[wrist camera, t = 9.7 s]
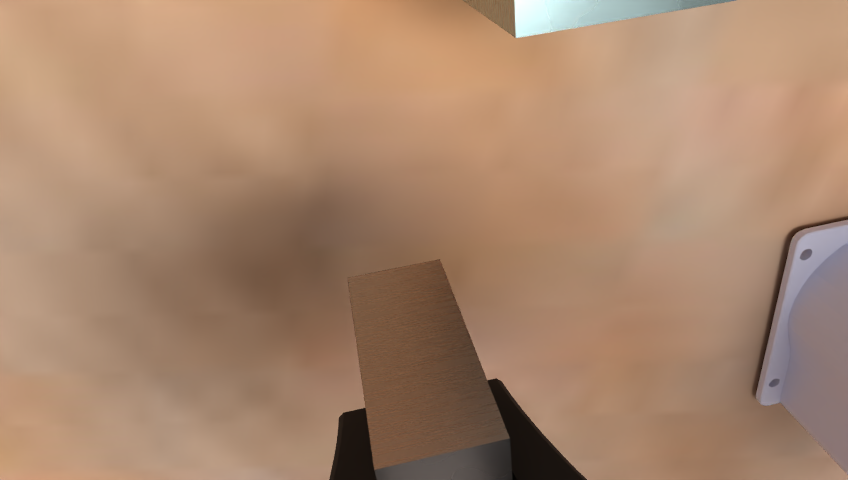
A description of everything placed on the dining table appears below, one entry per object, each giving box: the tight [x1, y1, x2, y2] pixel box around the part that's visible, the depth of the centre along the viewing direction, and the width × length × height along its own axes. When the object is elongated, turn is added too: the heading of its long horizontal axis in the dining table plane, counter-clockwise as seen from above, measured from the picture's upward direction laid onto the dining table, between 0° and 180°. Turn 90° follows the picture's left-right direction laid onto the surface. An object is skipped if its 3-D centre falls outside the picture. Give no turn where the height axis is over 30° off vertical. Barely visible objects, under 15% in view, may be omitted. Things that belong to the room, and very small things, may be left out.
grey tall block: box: [348, 259, 513, 480], centre depth 12 cm, size 5×2×5 cm, turn 7°
